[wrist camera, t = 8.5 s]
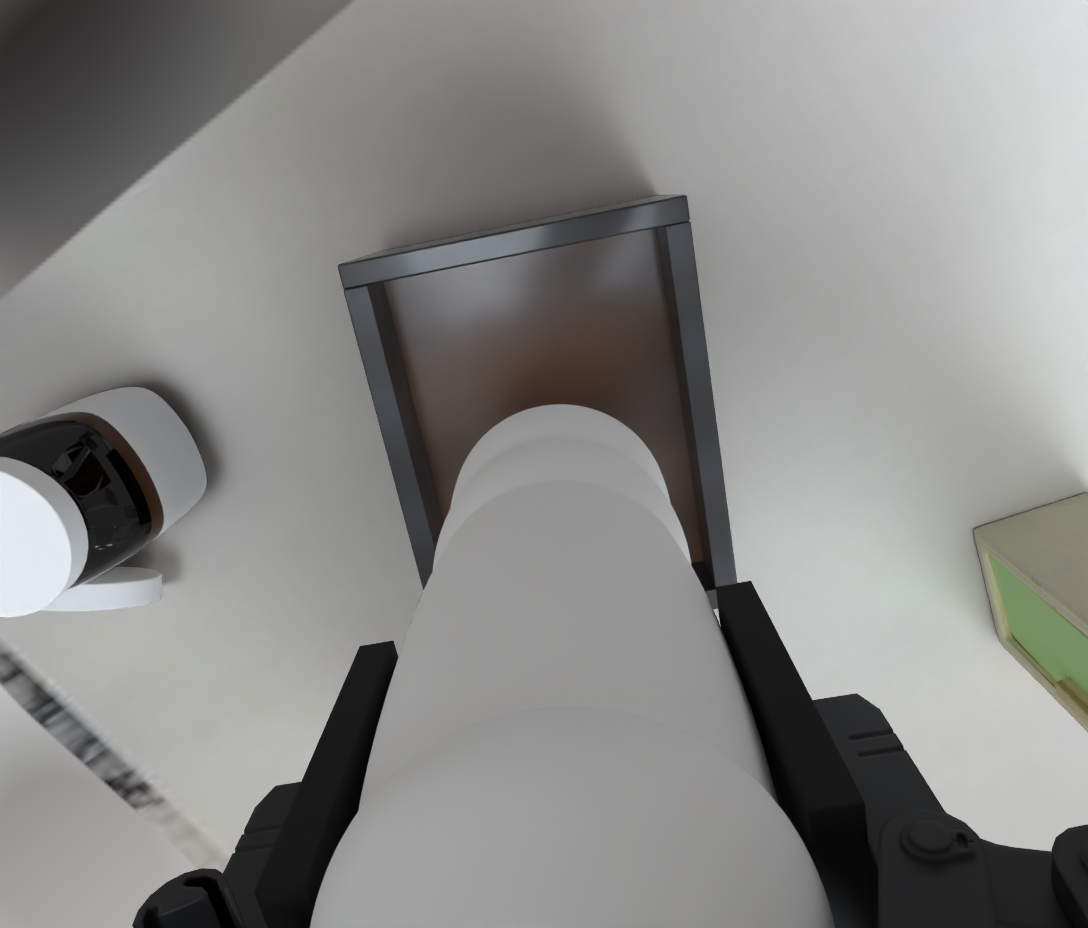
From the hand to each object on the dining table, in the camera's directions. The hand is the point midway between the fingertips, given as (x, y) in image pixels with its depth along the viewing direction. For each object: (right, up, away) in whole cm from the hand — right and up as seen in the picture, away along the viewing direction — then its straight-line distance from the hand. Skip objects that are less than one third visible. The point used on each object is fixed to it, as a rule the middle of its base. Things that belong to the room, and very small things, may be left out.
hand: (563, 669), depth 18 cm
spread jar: (-23, +3, +27) cm, 36 cm away
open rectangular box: (0, +8, +25) cm, 26 cm away
